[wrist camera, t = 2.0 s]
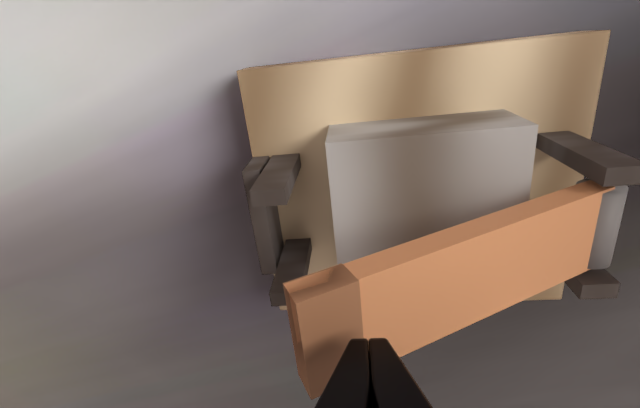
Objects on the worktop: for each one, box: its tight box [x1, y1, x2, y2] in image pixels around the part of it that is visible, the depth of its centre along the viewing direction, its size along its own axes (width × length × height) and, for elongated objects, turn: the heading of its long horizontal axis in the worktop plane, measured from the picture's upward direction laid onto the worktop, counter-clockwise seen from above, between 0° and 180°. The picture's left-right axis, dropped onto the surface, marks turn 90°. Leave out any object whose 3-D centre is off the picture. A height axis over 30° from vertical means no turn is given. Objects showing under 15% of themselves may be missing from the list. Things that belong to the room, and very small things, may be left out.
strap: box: [283, 179, 629, 400], centre depth 11 cm, size 12×3×1 cm, turn 97°
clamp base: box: [237, 30, 640, 310], centre depth 16 cm, size 14×12×6 cm
